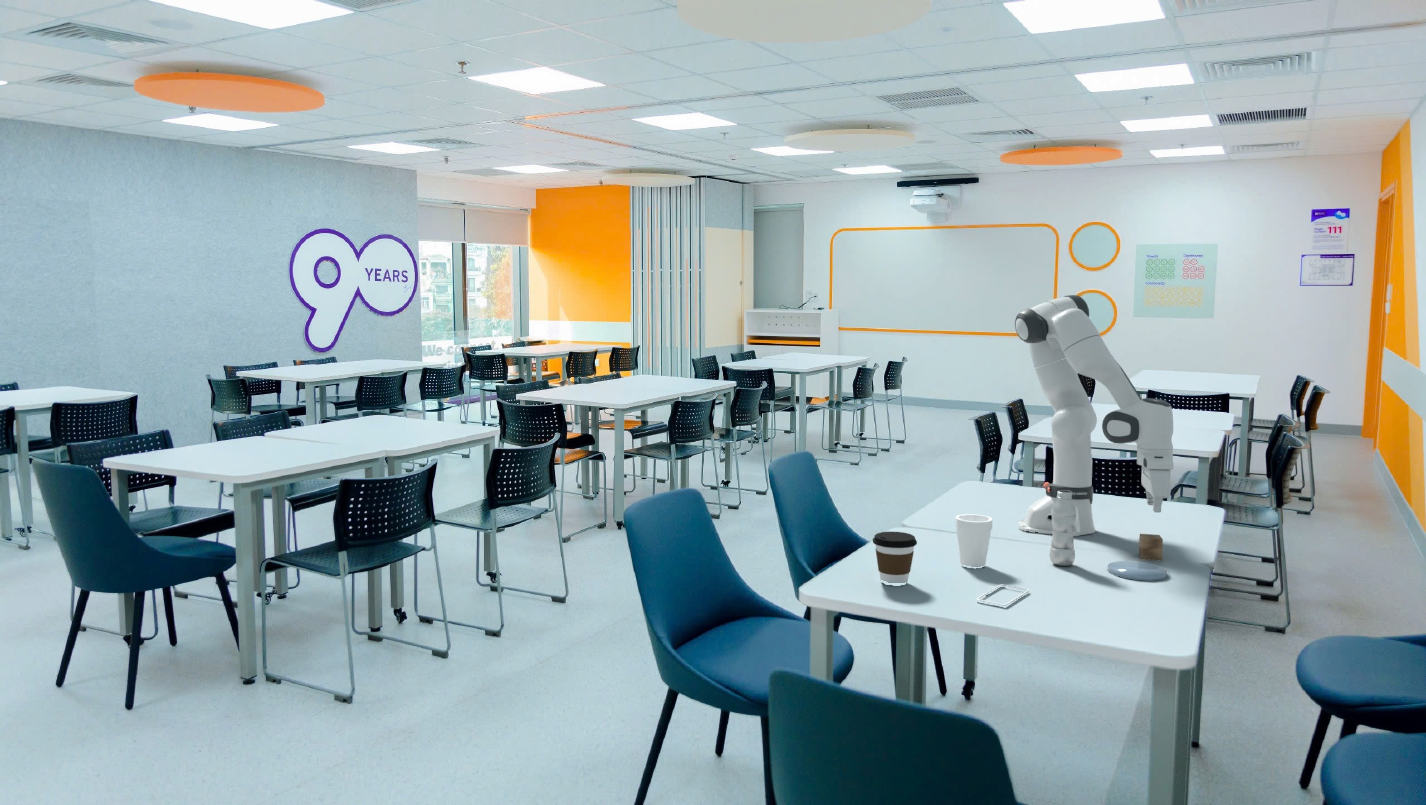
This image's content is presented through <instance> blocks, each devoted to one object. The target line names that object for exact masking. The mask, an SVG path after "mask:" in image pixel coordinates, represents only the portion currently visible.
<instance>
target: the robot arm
mask: <svg viewBox="0 0 1426 805" xmlns="http://www.w3.org/2000/svg"><path fill="white" fill-rule="evenodd" d="M1014 328H1015V332H1016V334H1017V336H1018V338H1019V340H1021V341H1023V342H1024V343H1026V344H1028V347H1029V351H1030V352H1029V354H1030V357H1031V361H1032V363H1033V368H1034V370H1035V374H1036V375H1037V378H1038V381H1039V383H1040V387H1041V389H1042V392H1043V393H1044V395H1045V397H1046V398H1047V400H1048V402H1049V404H1050V406H1051V408H1052V410H1053V412H1054V415H1053V416H1052V418H1051V419H1052V420H1051V438H1052V439H1051V441H1052V452H1053V476H1052V477H1053V480H1052V483H1049V482H1048V481H1047V482H1044V483H1043V488H1044V489H1045V495H1044V496H1041V497H1040V498H1039V499H1037V500H1036V501H1034V502H1032V503H1031V504H1030V505H1029V506H1028V508H1027V510H1026V513H1025V518H1024V519H1023V518H1022V519H1020V520H1019V521H1018V522H1017V526H1019V527H1018V529H1019V530H1021V531H1023V530H1024V531H1023V532H1026V531H1029V532H1028V533H1035V532H1038V533H1037V534H1046V535H1053V523H1052V514H1051V510H1052V507H1053V505H1054V504H1055V503H1056V501H1057V500H1058V498H1057V492H1058V490H1067V491H1071V492H1072V499H1071V502H1072V503H1073V505H1074V506H1075V508H1076V511H1077V513H1076V519H1075V525H1074V531H1073V532H1074V535H1073V537H1079V536H1083V535H1090V534H1094V533H1095V532H1096V528H1095V525H1094V524H1095V523H1094V518H1093V511H1092V510H1093V508H1092V504H1093V501H1094V487H1093V485H1092V478H1093V456H1092V455H1093V454H1092V446H1091V445H1092V443H1091V435H1092V434H1091V433H1093V431H1094V430H1095V429H1096V427H1097V423H1098V420H1097V419H1098V418H1097V415H1096V412H1095V410H1094V408H1093V405H1092V404H1091V401H1090V398H1089V396H1088V395H1087V394H1088V393H1087V392H1086V390H1085V388H1084V386H1083V384H1082V383H1081V379H1080V378H1079V375H1082V376H1084V377H1088V378H1091V379H1093V380H1096V381H1098V382H1099V383H1101V384H1102V385H1103V386H1105V388H1106V389H1107V390H1108V392H1109V394H1111V396H1112V398H1113V399H1114V401H1115V403H1116V404H1117V406H1118V407H1119V409H1115V410H1113V411H1110V412H1108V413H1107V414H1106V415H1105V416H1104V418H1103V419H1102V424H1101V430H1102V433H1103V435H1104V437H1105V438H1106V439H1107V440H1108V441H1109V442H1110V443H1114V444H1119V445H1124V444H1133V443H1135V444H1136V465H1138V466H1141V478H1140V479H1141V481H1140V482H1141V486H1142V487H1143V488H1144V490H1145V495H1146V504H1147V505H1148V506H1152V511H1153V512H1154V513H1161V512H1162V505H1163V501H1164V499H1168V497H1169V493H1170V485H1171V476H1172V475H1171V474H1172V472H1171V470H1174V445H1173V442H1172V437H1173V434H1174V415H1173V408H1172V406H1171V404H1170V403H1169V402H1168V401H1166V400H1163V399H1160V398H1151V397H1146V398H1145V397H1144V398H1142V397H1141V395H1140V393H1139V392H1138V391H1137V389H1136V387H1135V386H1134V384H1133V382H1132V381H1131V380H1130V378H1129V377H1128V375H1127V373H1126V372H1125V371H1124V368H1122V366H1121V365H1120V364H1119V363H1118V361H1117V360H1116V358H1115V357H1114V355H1113V354H1112V352H1111V351H1110V350H1109V348H1108V347H1107V344H1106V343H1105V341H1104V339H1103V338H1102V336H1101V334H1100V332H1099V331H1098V328H1097V327H1096V325H1095V324H1094V323H1093V321H1092V320H1091V319H1090V309H1089V306H1088V303H1087V302H1086V300H1085V299H1083V297H1081V295H1076V294H1072V295H1071V294H1068V295H1064V296H1063V297H1058V298H1053V299H1049V300H1046V301H1044V302H1042V303H1040V304H1036V305H1035V306H1032V307H1030V308H1025V309H1024V310H1022V311H1020V312H1019V313H1017V315H1016V316H1015V320H1014Z"/></svg>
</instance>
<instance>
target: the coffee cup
mask: <svg viewBox="0 0 1426 805" xmlns="http://www.w3.org/2000/svg"><path fill="white" fill-rule="evenodd" d="M873 536H874V537H873V538H872V544H874V545H875V554H876V555H875V556H876V562H877V567H878V572H879V578H880V581H881V580H883V581H886V582H888V583H905V582H907V583H908V581H909V574H910V572H911V570H912V563H913V558H914V552H915V551H914V547H915V546H917V545H918V541H917V539H916V537H915V535H913V534H911V533H908V532H902V531H882V532H878V533H875V534H874V535H873Z"/></svg>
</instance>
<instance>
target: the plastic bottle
mask: <svg viewBox="0 0 1426 805" xmlns="http://www.w3.org/2000/svg"><path fill="white" fill-rule="evenodd" d="M1057 498H1058V500H1057V501H1056V503H1055V504H1054V505H1053V507H1052V510H1051V514H1052V523H1053V534H1052V536H1051V537H1052V538H1051V546H1050V550H1049V555H1048V556H1049V560H1050V562H1051V564H1054V565H1056V566H1063V567H1064V566H1066V567H1068V566H1071V565H1073V564H1074V563H1075V559H1076V553H1075V552H1076V550H1075V543H1074V539H1075V538H1074V536H1073V535H1074V532H1073V531H1074V525H1075V519H1076V513H1077V511H1076V508H1075V506H1074V505H1073V503H1072V502H1071V499H1072V492H1071V491H1067V490H1058V492H1057Z"/></svg>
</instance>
